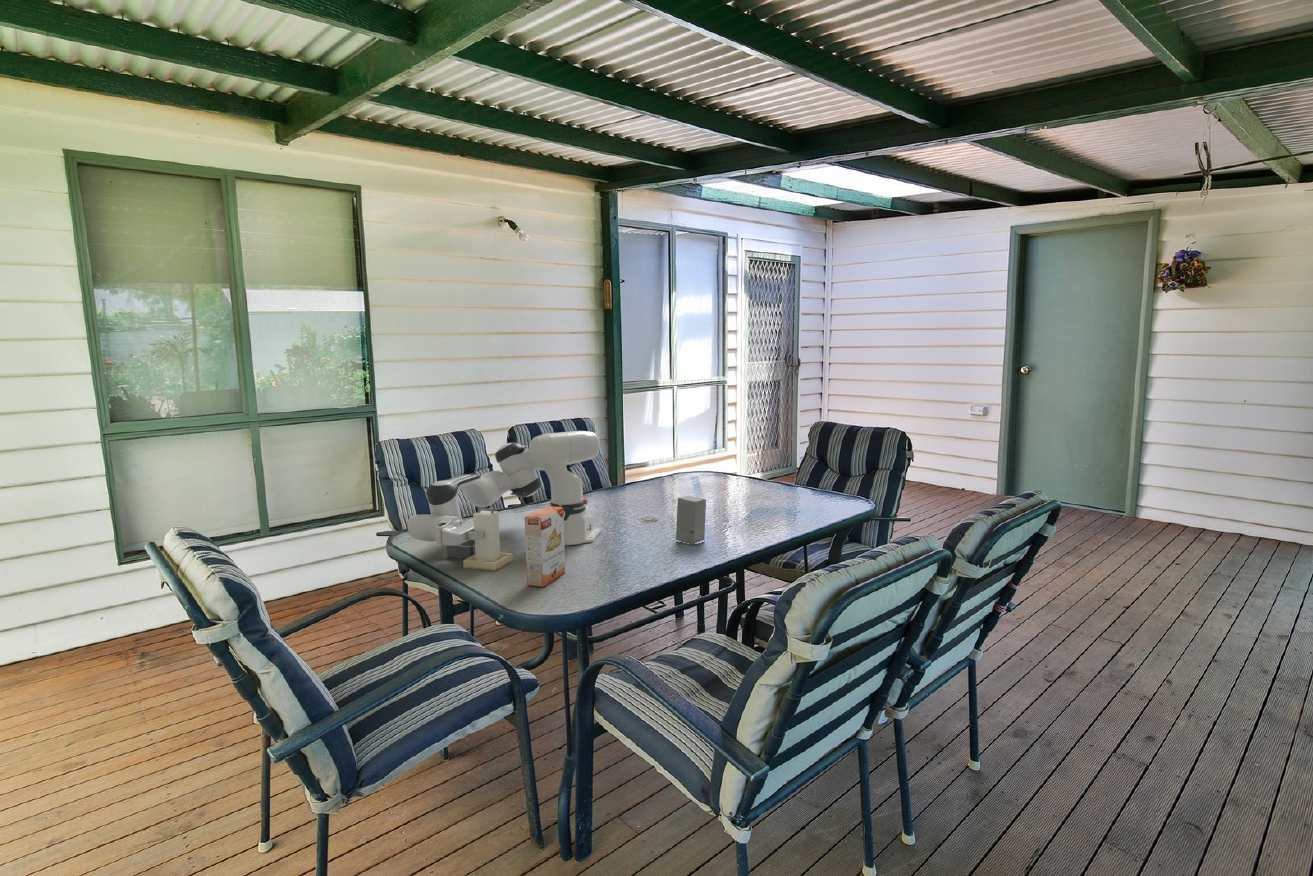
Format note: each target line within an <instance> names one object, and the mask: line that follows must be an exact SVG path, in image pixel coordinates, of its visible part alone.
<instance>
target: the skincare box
mask: <svg viewBox="0 0 1313 876" xmlns="http://www.w3.org/2000/svg"><path fill="white" fill-rule="evenodd" d="M676 508H677V510H676V511H677V512H676V529H675V530H676V531H675V532H676V533H675V541H676V540H678V541H681V542H685V543H689V544H695V543H697V542H700V541H702V540H704V541H705V536H706V535H705V534H706V511H707V510H706V509H707V499H706V498H702V497H698V496H692V495H684V496H680V497H679V496H678V497H677V507H676ZM689 544H688V545H689Z"/></svg>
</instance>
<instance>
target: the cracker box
mask: <svg viewBox="0 0 1313 876" xmlns="http://www.w3.org/2000/svg"><path fill="white" fill-rule="evenodd" d="M524 533H525V535H524V538H525V539H524V540H525V563H526V564H525V566H526V568H525V569H526V585H527V586H532V587H538V588H544V587H546V586H547V585H549V584H550V583H552V582H553V581H555V580H556V579H558V578H560V577H561V576H563V575H564V574H566V563H565V562H566V560H565V559H566V557H565V556H566V555H565V554H566V553H565V552H566V551H565V545H564V508H562V507H550V506H549V505H548V506H546V507H543V508H541V509H538V510H536V511H534V512H532V513H530V514H528V515H525V516H524Z"/></svg>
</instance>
